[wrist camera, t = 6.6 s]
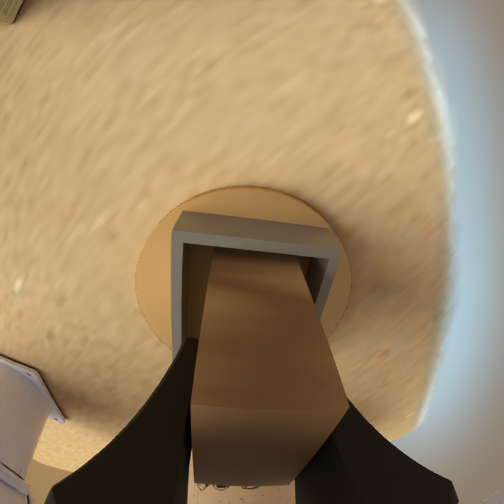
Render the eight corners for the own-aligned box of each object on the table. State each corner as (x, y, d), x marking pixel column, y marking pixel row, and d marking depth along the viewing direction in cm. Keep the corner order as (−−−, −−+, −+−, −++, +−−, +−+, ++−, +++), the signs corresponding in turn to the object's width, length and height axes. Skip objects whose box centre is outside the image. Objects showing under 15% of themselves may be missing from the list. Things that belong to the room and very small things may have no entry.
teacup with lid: (304, 392, 18) (334, 553, 7) (304, 445, 22) (322, 555, 11) (137, 404, 18) (110, 545, 8) (177, 453, 22) (169, 558, 12)
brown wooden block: (206, 340, 13) (194, 483, 7) (215, 241, 11) (190, 404, 5) (271, 346, 13) (288, 485, 7) (293, 250, 11) (349, 406, 5)
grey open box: (147, 351, 15) (136, 388, 13) (138, 174, 11) (112, 193, 9) (315, 365, 16) (325, 401, 14) (370, 205, 12) (400, 229, 10)
